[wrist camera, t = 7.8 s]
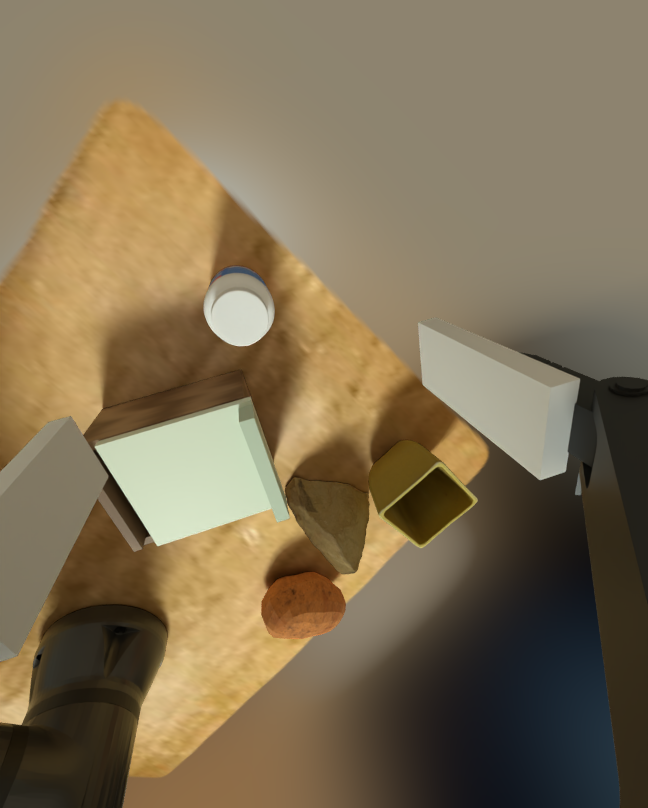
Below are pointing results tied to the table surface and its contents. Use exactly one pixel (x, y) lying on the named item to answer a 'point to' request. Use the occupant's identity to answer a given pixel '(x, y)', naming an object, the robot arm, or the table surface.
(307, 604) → the potato
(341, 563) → the rock
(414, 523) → the flower pot
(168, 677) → the table surface
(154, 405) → the box
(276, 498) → the lid
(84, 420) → the table surface
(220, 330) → the pill bottle
